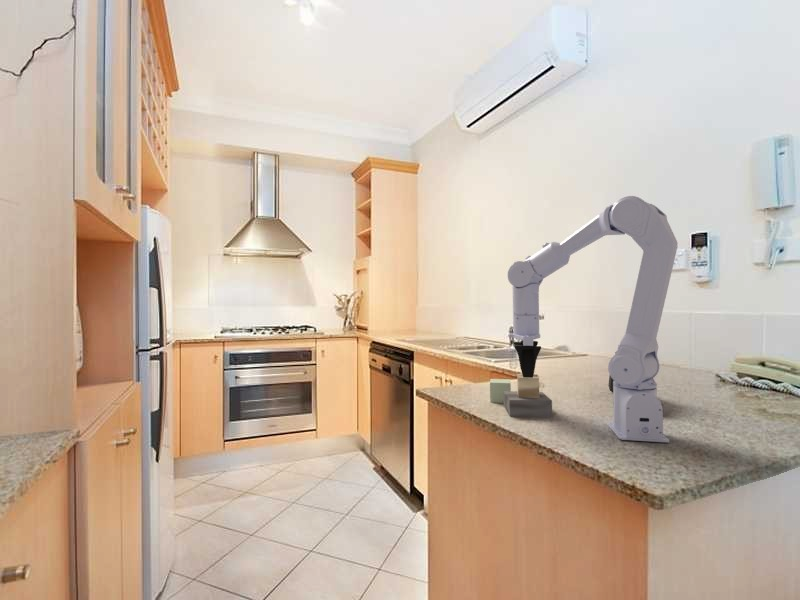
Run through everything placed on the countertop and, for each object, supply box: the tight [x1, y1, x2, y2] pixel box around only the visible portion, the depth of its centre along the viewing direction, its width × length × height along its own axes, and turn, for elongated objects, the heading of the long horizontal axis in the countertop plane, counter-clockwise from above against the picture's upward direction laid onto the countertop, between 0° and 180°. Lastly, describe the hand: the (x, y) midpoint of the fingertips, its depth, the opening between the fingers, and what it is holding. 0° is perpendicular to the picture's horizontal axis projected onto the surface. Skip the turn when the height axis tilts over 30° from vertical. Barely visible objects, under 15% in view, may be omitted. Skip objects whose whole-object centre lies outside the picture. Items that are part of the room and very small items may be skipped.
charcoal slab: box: [503, 390, 553, 418], centre depth 95 cm, size 9×9×4 cm
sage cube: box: [489, 378, 512, 404], centre depth 107 cm, size 5×5×5 cm
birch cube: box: [516, 373, 540, 398], centre depth 96 cm, size 4×4×4 cm
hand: (526, 374), depth 95 cm, fingers open, 7 cm apart
